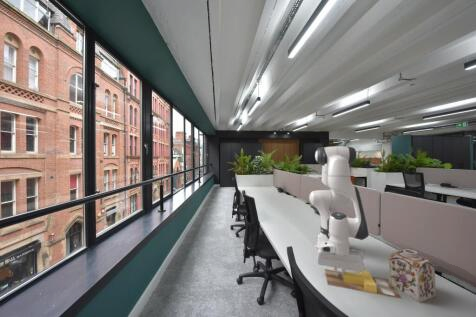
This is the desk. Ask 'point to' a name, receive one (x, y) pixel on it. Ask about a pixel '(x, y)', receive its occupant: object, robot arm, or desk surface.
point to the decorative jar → (412, 274)
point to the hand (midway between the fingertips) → (339, 276)
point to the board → (381, 284)
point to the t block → (361, 280)
